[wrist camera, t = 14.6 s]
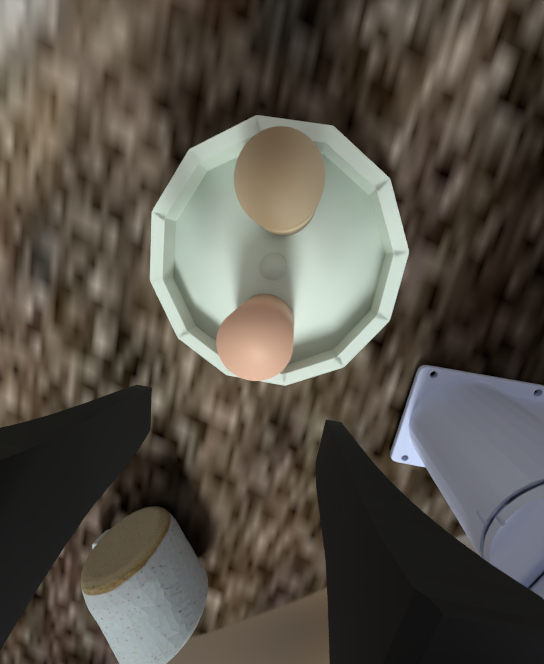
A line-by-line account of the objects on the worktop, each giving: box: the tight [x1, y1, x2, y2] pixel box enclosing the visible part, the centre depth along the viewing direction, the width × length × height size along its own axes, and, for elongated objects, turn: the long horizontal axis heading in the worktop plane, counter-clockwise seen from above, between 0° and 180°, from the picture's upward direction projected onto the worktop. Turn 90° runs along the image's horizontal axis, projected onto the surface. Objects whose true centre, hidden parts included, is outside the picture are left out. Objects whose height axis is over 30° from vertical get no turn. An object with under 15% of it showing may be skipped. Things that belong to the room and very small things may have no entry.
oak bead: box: [234, 126, 325, 236], centre depth 14 cm, size 4×4×5 cm
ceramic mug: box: [81, 506, 208, 664], centre depth 23 cm, size 11×8×8 cm
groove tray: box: [150, 115, 409, 385], centre depth 17 cm, size 15×15×2 cm
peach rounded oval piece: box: [216, 294, 294, 381], centre depth 17 cm, size 4×4×5 cm
